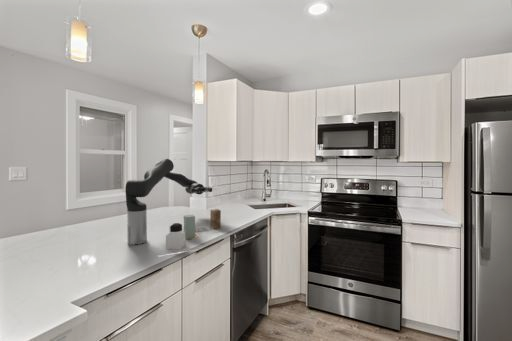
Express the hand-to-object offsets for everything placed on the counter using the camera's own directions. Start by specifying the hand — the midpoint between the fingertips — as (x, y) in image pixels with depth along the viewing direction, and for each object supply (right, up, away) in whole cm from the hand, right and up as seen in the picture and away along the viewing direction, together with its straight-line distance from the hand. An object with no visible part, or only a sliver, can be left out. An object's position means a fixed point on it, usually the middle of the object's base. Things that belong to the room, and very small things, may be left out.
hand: (204, 190), depth 171 cm
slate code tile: (-1, -24, -13) cm, 27 cm away
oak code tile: (-3, -24, -28) cm, 37 cm away
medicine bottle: (-6, -25, -43) cm, 50 cm away
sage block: (-3, -24, -28) cm, 37 cm away
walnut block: (+8, -24, -7) cm, 26 cm away
